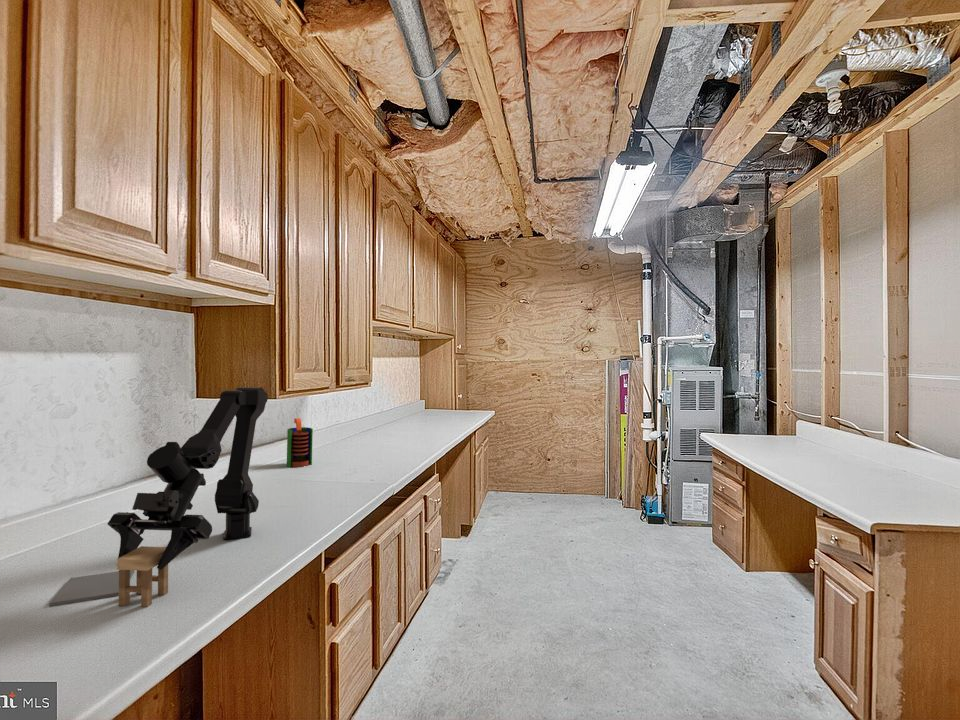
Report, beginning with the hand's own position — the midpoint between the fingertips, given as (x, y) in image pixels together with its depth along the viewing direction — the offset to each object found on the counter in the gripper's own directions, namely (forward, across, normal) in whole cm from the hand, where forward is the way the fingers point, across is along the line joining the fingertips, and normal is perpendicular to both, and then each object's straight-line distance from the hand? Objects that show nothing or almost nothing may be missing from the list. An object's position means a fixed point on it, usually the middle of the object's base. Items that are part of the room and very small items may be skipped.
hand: (138, 568), depth 92 cm
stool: (+4, 0, +6) cm, 7 cm away
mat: (+1, -13, +8) cm, 15 cm away
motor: (-75, -18, +85) cm, 115 cm away
